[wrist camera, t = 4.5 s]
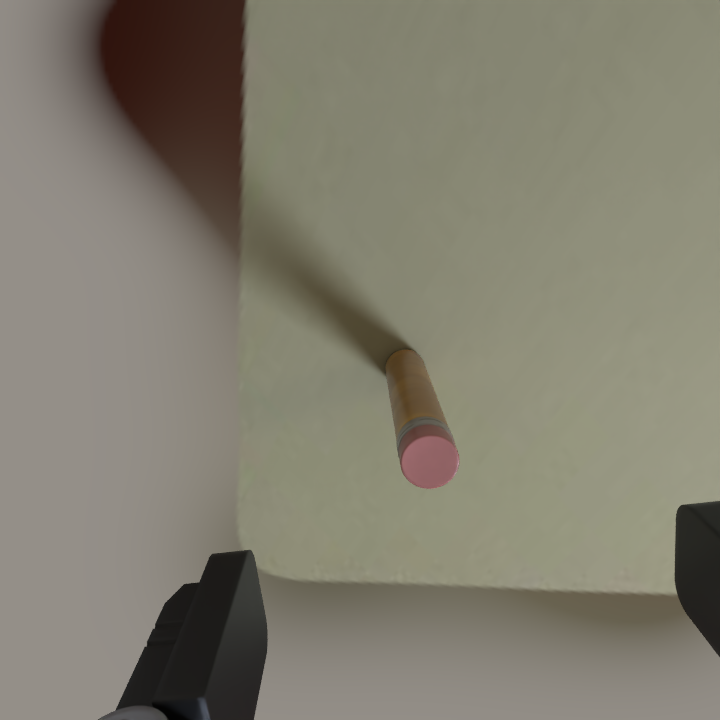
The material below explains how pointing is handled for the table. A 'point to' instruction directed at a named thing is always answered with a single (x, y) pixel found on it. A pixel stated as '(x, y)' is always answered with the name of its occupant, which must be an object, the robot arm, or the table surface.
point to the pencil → (419, 423)
